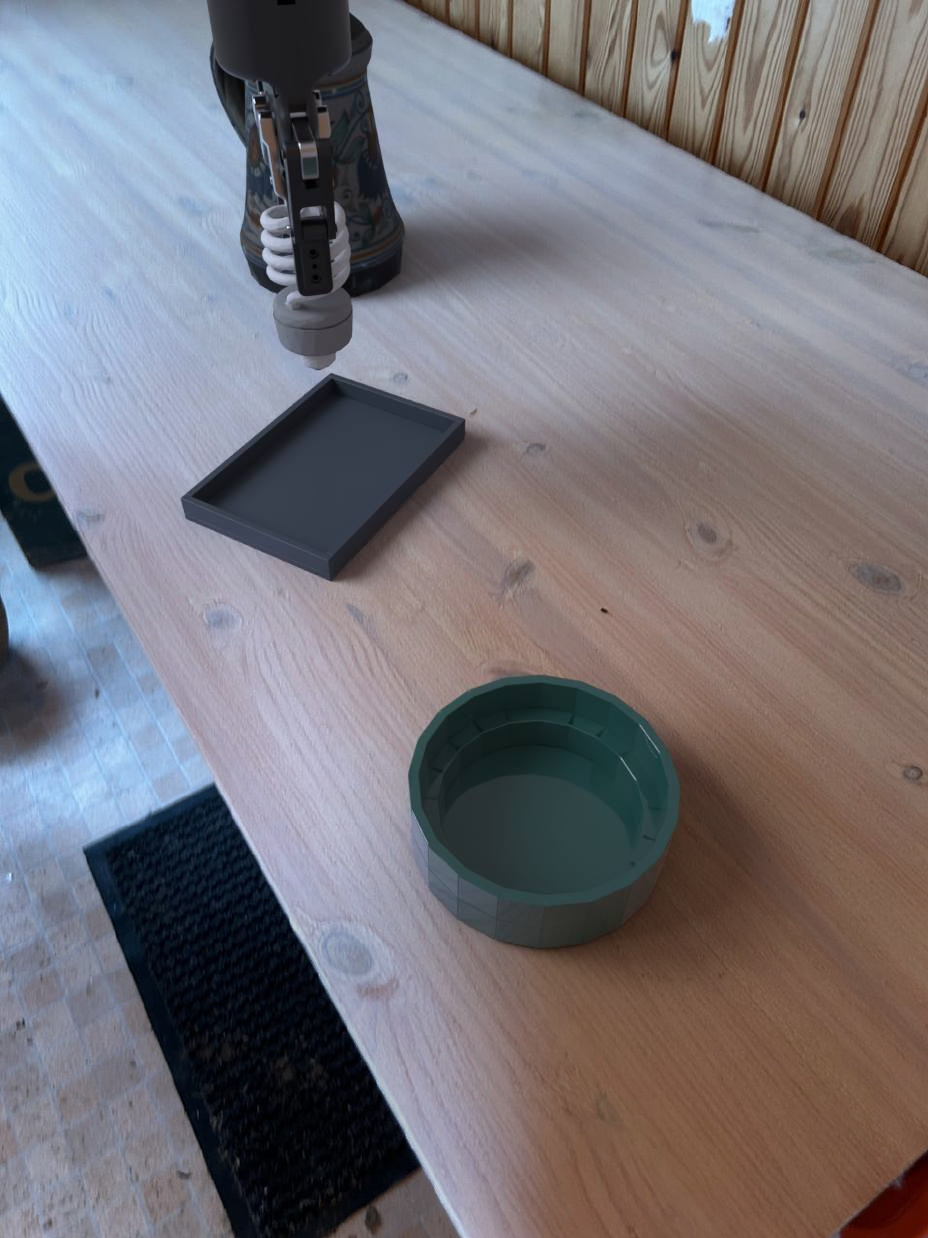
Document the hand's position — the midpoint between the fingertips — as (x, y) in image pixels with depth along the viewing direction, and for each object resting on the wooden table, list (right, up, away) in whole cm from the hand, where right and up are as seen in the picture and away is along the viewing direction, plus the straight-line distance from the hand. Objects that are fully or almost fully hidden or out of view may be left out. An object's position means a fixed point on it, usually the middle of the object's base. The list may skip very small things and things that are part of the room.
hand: (307, 268), depth 63 cm
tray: (0, -12, +13) cm, 17 cm away
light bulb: (0, -5, +6) cm, 8 cm away
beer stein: (-5, +14, +37) cm, 40 cm away
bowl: (+14, -35, -8) cm, 38 cm away
